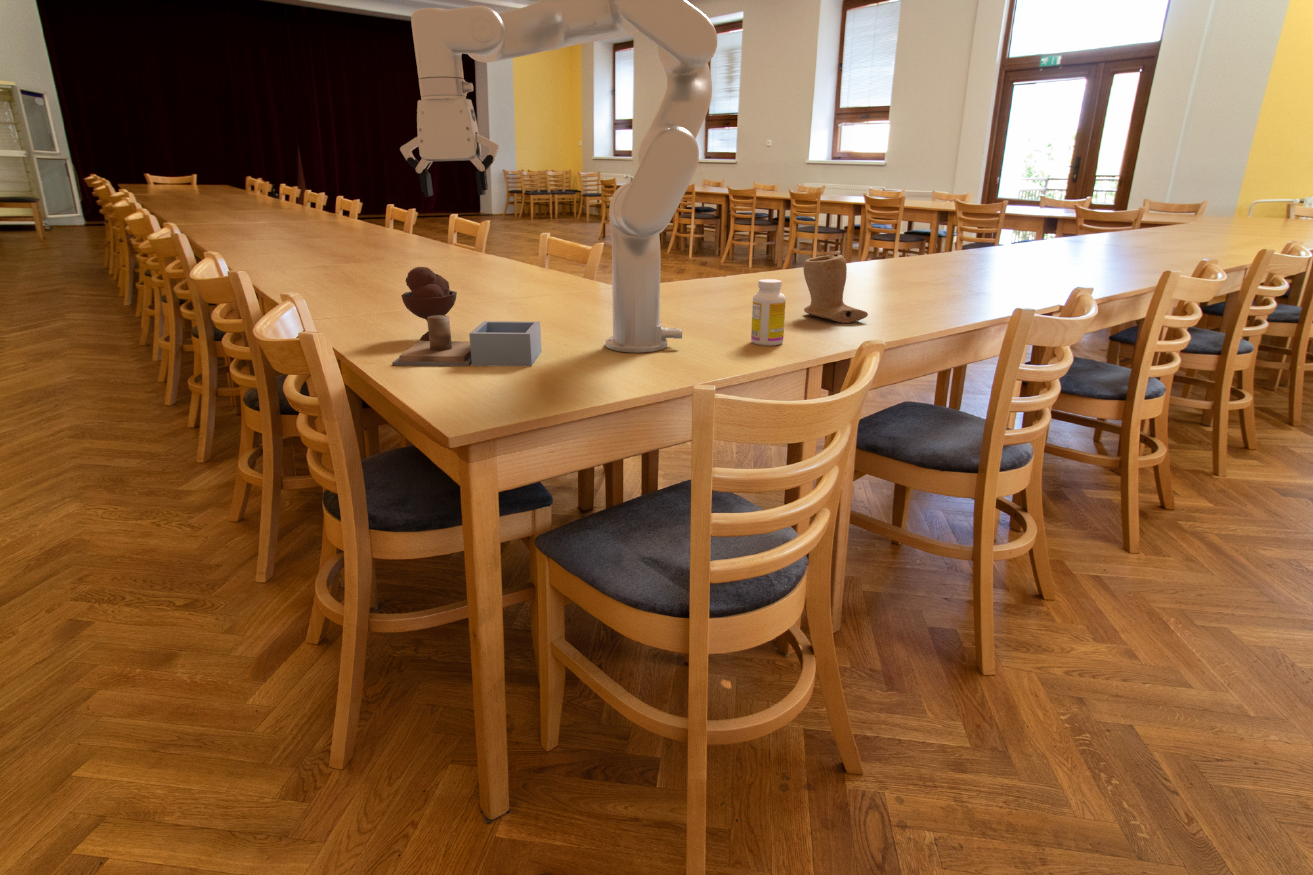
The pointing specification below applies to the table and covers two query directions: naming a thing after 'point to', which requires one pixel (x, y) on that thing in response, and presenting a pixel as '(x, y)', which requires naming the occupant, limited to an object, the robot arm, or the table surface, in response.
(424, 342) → the lid
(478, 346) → the open box
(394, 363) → the mat
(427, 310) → the ice cream bowl
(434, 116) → the robot arm
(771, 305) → the supplement bottle
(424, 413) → the table surface
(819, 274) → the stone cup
